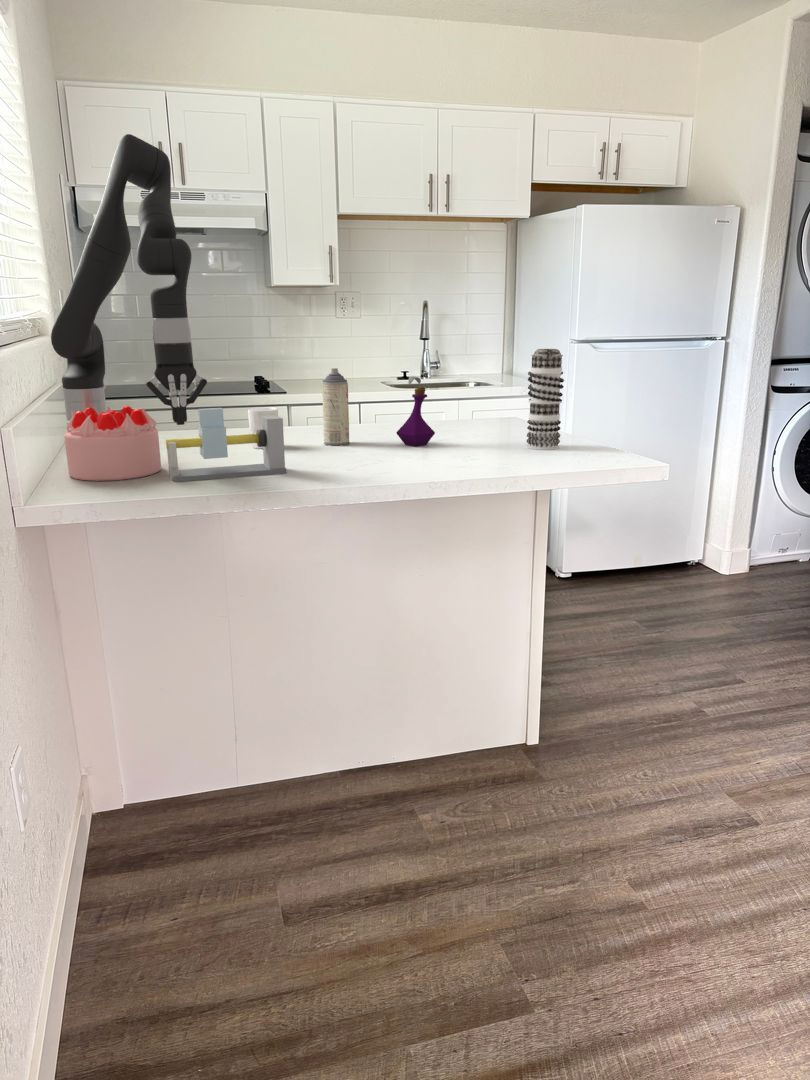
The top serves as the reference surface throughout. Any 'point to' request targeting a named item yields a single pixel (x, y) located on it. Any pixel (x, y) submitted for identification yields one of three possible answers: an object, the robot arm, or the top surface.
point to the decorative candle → (545, 399)
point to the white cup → (259, 419)
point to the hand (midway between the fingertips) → (180, 424)
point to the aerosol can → (335, 409)
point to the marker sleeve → (212, 433)
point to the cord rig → (266, 438)
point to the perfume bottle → (416, 421)
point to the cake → (112, 445)
